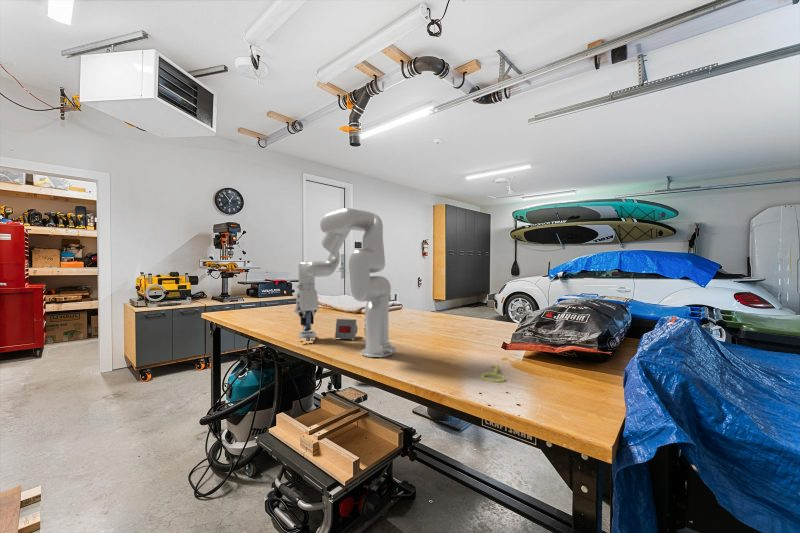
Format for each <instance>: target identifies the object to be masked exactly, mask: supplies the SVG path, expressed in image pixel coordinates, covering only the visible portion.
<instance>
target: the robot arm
mask: <svg viewBox="0 0 800 533" xmlns="http://www.w3.org/2000/svg"><path fill="white" fill-rule="evenodd" d="M319 227H320V230H321V231H322V232H323V233H325V236H324V237H323V239H322V241H321V246H322V247H323V248H324V249H325V251H327V252H329V255H328V257H327V259H326V260H325V261H321V260H320V261H319V260H318V261H316V260H315V261H301V262H299V264H298V285H296V288H297V289H298V290H297V294H296V300H295V302H296V303H295V304H296V305H295V306H296V307H295V310H294V313H295V314H296V315H297V316H299V318H300V325H301V326H302V327H303V326H306V317H305V312H306V311H311V325H314V318H315V315H316V313H317V311H319V309H320V308H319V298H318V293H317V292H318V291H317V289H316V285H315V284H316V283H315V281H316V279H315V278H324V277H325V278H326V277H327V278H328V277H330V276H332V275H333V274H334V272H335V271H336V270H337V268H338V266H339V264H340V260H341V257H340V256H341V255H340V249H341V247H342V246H343V245H344V243H345V241H346V239H347V237H348V236H349V235H350V232H351V230H352V231H358V232H359V231H360V232H364V233H363V236H362V240H361V241H362V242H361V243H362V248H358V249H355V250H354V251H352V253H351V255H350V256H349V258H348V259H349V260H348V270H349V272H348V274H349V286H350V292H351V295H352V298H354V299H355V301H358V302H360V303H362V302H366V304H365V310H364V312H365V314H364V315H365V316H364V317H365V318H364V323H365V324H364V328H365V330H364V331H365V332H364V338H365V348H363V349H362V350H361V355H362V354H363V355H364V357H366V356H367V357H366V358H372V357H379V358H386V357H389V356H392V354H394V353H395V352H396V350H397V347H396V346H392V342H390V341H389V340H390V338H389V336H390V335H389V332H390V330H389V327H390V326H389V325H390V324H389V323H390V322H389V319H390V318H389V316H390V315H389V310H390V309H389V308H390V307H389V305H390V297H391V292H392V289H391V283H390V281H389V279H387V278H386V277H385V276H382V275H372V276H370V275H371V274H374V273H375V274H376V273H380V272H382V271H383V270H384V269H385V266H386V260H385V245H384V225H383V221H382V219H381V217H380V216H379V215H378V214H376V213H374V212H371V211H366V210H362V209H355V208H349V207H345V208H341V209H338V210H336V211H332V212H328V213H326V214H325V215H324V216H323V217H322V218H321V220H320V226H319ZM363 355H362V356H363Z"/></svg>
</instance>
